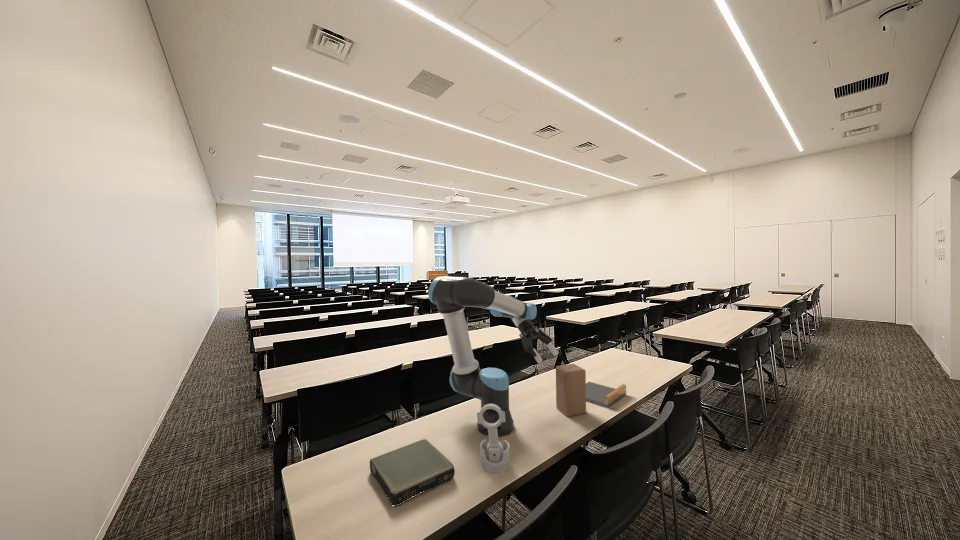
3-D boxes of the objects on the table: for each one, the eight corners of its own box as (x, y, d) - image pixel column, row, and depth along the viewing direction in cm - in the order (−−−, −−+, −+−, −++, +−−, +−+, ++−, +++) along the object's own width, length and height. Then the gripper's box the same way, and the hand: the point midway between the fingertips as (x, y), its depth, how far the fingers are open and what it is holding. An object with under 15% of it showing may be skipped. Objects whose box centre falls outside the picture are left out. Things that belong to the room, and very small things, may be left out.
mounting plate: (569, 395, 168) (569, 385, 168) (588, 384, 182) (588, 375, 182) (608, 407, 154) (608, 397, 154) (626, 394, 168) (626, 384, 168)
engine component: (509, 473, 110) (509, 455, 120) (508, 411, 109) (508, 398, 119) (476, 472, 111) (479, 454, 121) (474, 411, 110) (478, 398, 120)
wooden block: (555, 407, 155) (554, 365, 155) (574, 404, 158) (573, 362, 158) (567, 417, 146) (566, 372, 145) (587, 413, 149) (586, 369, 148)
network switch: (422, 447, 126) (422, 434, 126) (462, 476, 109) (462, 461, 109) (362, 476, 110) (361, 461, 110) (398, 515, 93) (398, 498, 93)
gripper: (533, 323, 180) (558, 356, 170) (502, 332, 162) (528, 369, 152) (541, 314, 176) (567, 347, 166) (510, 322, 158) (538, 360, 148)
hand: (549, 358), depth 159 cm, fingers open, 13 cm apart
